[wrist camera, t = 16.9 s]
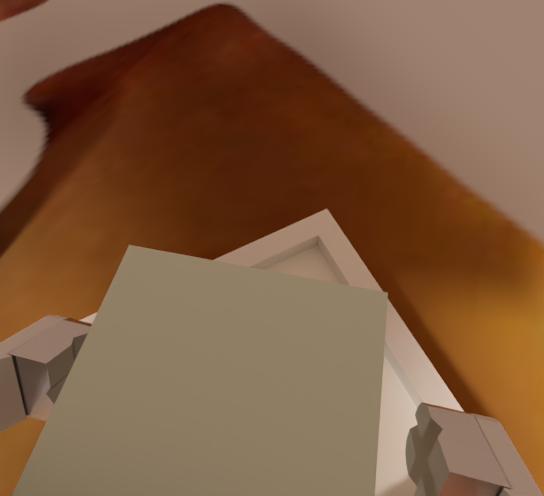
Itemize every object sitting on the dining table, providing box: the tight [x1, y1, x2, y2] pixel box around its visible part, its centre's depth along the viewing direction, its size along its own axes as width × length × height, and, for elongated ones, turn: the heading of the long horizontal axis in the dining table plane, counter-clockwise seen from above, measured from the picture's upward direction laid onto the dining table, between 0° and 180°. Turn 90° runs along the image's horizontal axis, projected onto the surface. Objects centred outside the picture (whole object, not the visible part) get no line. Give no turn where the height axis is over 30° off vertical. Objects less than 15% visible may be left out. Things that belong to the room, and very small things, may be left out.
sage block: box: [12, 245, 388, 496], centre depth 9 cm, size 5×5×10 cm
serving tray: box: [79, 209, 464, 496], centre depth 13 cm, size 14×14×2 cm
